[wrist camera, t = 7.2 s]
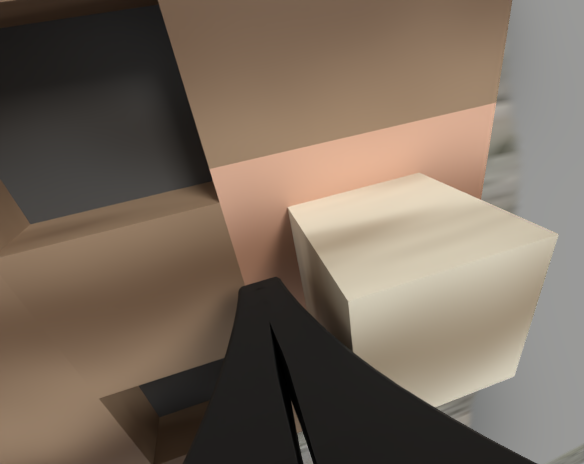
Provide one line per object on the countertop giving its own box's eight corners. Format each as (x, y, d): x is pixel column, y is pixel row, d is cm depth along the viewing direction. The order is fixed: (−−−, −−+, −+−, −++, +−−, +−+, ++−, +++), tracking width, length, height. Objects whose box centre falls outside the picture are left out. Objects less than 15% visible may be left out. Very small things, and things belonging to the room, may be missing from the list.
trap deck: (423, 339, 18) (453, 374, 16) (27, 477, 15) (-2, 544, 13) (456, -103, 9) (537, -160, 7) (-562, 13, 6) (-1022, -25, 4)
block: (414, 280, 12) (514, 376, 8) (307, 314, 11) (361, 436, 8) (419, 172, 10) (558, 234, 6) (287, 207, 9) (347, 301, 5)
